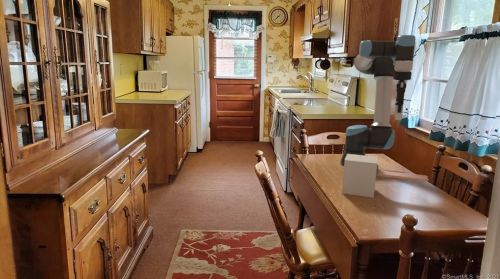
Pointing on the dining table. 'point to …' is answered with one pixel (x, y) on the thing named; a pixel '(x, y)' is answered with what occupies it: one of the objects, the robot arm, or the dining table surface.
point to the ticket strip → (402, 175)
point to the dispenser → (359, 175)
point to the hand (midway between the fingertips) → (397, 117)
